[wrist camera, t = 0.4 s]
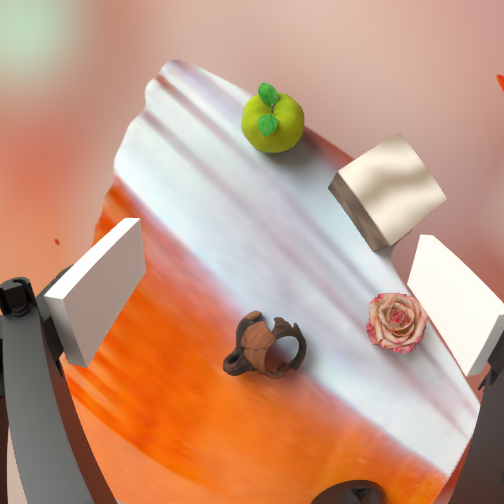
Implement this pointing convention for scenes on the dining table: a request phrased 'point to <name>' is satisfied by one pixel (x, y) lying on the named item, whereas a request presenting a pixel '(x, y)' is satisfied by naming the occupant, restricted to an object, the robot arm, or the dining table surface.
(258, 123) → the fruit
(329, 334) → the dining table surface
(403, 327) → the flower
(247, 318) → the pottery mug
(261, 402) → the dining table surface
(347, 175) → the pedestal
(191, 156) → the dining table surface
